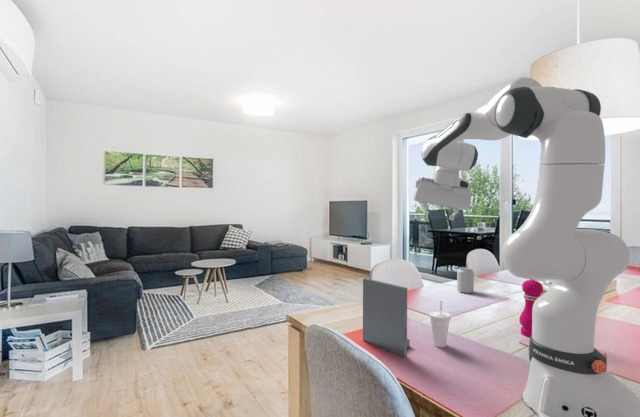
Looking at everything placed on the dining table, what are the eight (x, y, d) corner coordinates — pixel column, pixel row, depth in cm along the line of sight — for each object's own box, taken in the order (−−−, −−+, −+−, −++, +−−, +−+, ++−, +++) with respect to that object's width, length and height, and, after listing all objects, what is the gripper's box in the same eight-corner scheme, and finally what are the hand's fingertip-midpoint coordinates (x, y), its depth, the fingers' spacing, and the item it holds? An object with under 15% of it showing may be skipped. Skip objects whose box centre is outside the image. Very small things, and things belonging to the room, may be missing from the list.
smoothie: (436, 350, 101) (437, 304, 101) (424, 341, 108) (425, 298, 107) (454, 347, 103) (455, 302, 103) (442, 339, 109) (442, 296, 109)
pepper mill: (521, 328, 119) (521, 272, 118) (545, 334, 114) (546, 275, 113) (517, 335, 113) (518, 276, 112) (543, 340, 108) (544, 279, 108)
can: (470, 290, 170) (470, 266, 170) (475, 294, 162) (476, 269, 162) (455, 289, 171) (455, 266, 170) (459, 293, 163) (459, 269, 163)
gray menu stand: (419, 349, 102) (419, 284, 101) (404, 357, 97) (404, 288, 96) (378, 333, 114) (378, 275, 113) (362, 340, 109) (362, 278, 108)
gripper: (419, 175, 123) (412, 212, 123) (475, 185, 122) (468, 222, 122) (415, 177, 130) (408, 212, 129) (469, 186, 128) (462, 222, 128)
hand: (438, 217), depth 125 cm, fingers open, 8 cm apart
